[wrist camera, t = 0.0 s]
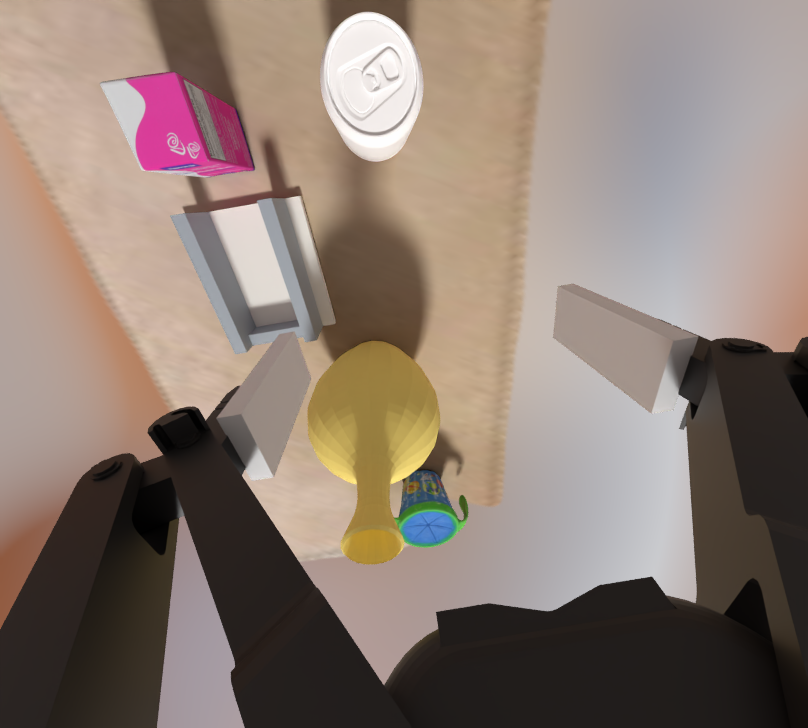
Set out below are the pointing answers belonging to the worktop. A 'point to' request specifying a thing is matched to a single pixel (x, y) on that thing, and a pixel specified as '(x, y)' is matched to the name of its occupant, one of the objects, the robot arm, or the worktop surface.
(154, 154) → the supplement box
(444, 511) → the snack cup
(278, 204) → the slot cradle
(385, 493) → the vase
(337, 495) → the worktop surface
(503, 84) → the worktop surface
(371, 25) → the beverage can
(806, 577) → the robot arm
